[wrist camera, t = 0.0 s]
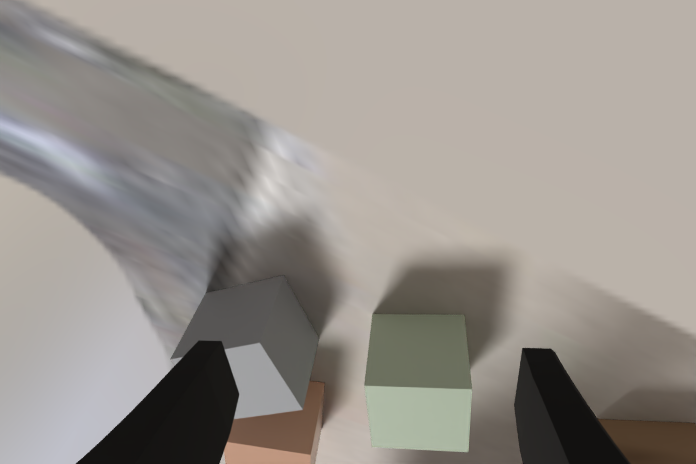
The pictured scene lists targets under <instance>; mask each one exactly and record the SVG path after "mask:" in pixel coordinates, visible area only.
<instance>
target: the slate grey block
mask: <svg viewBox="0 0 696 464" xmlns="http://www.w3.org/2000/svg"><path fill="white" fill-rule="evenodd" d="M199 340H203V341H222V343H223V346H224V349H225V352H226V355H227V358H228V361H229V364H230V367H231V370H232V373H233V376H234V379H235V382H236V385H237V388H238V391H239V399H238V403H237V408H236V412H235V416H234V419H239V418H247V417H254V416H261V415H269V414H276V413H283V412H291V411H298V410H303V407H304V403H305V398H306V394H307V390H308V385H309V381H310V376H311V372H312V368H313V363H314V359H315V354H316V350H317V346H318V341H319V338H318V336H317V334H316V332H315V330H314V329H313V327H312V325H311V323H310V321H309V320H308V318H307V316H306V314H305V312H304V311H303V309H302V307H301V305H300V303H299V302H298V300H297V298H296V296H295V294H294V293H293V291H292V289H291V287H290V285H289V283H288V282H287V280H286V278H285V276H284V275H282V276H278V277H274V278H269V279H265V280H260V281H256V282H252V283H247V284H243V285H238V286H234V287H230V288H225V289H221V290H217V291H212V292H208V293H206V294H205V296H204V297H203V299H202V301H201V303H200V305H199V307H198V309H197V311H196V312H195V314H194V316H193V318H192V320H191V322H190V324H189V325H188V327H187V329H186V331H185V333H184V335H183V337H182V338H181V340H180V342H179V344H178V346H177V348H176V350H175V351H174V353H173V355H172V357H171V359H170V360H171V361H172V362H173V364H174V365H176V364H177V363H178V362H179V361H180V360H181V359H182V357H183V356H184V355H185V354H186V353H187V352H188V351H189V350H190V349H191V348H192V347H193V346H194V345H195V344H196V343H197V342H198V341H199Z"/></svg>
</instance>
